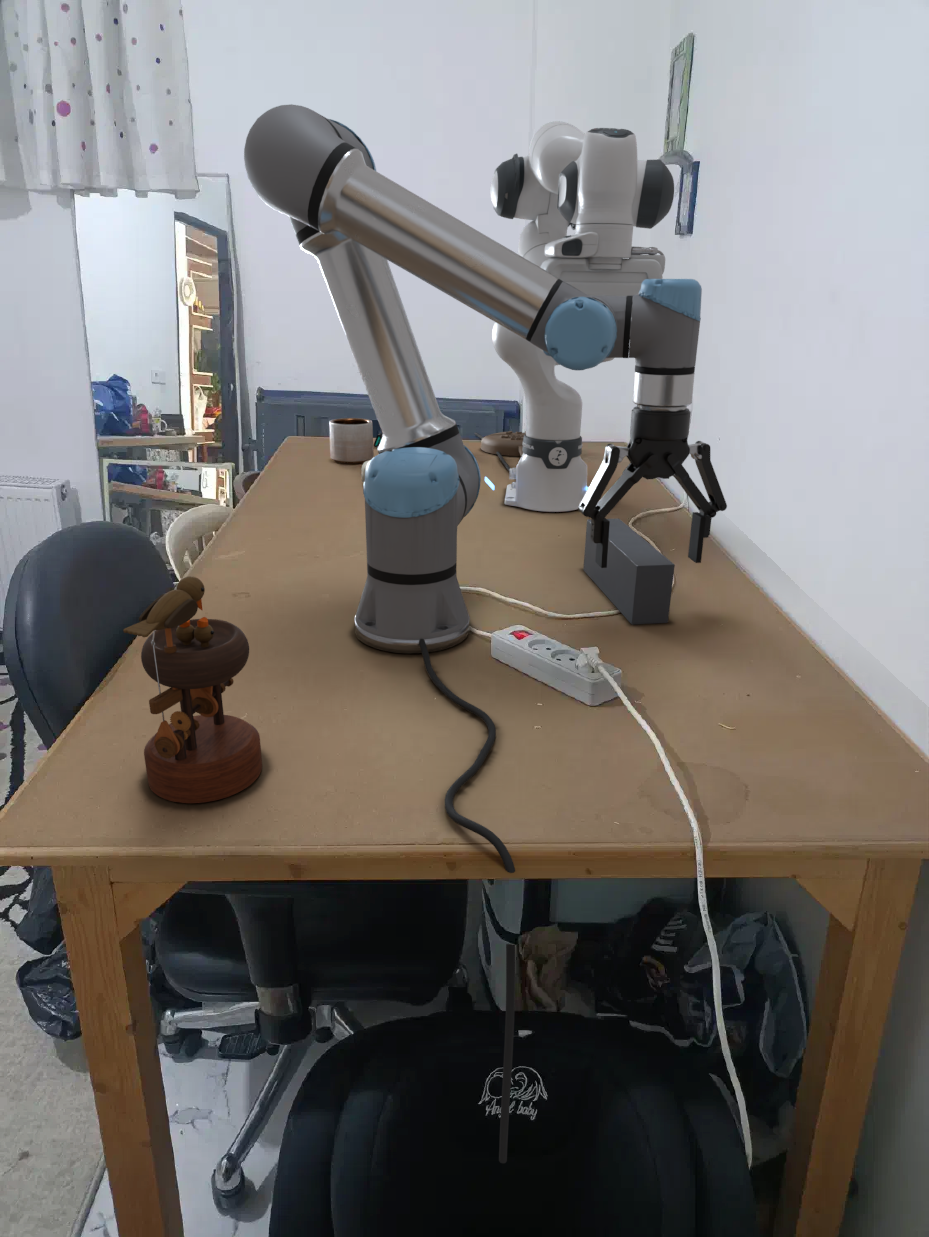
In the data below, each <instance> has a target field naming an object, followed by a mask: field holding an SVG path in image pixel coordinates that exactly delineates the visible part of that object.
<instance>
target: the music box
mask: <svg viewBox="0 0 929 1237" xmlns="http://www.w3.org/2000/svg"><path fill="white" fill-rule="evenodd" d="M205 590H206V589H205V585H204V583H203V581H202V580H201V579H200V578H198V577H196V576H191V575H190V576H184V577H182V578H181V579H180V580H179V581H178V583H177V584H176V589H172V590H169V591H168V592H166V593H162V594H160V595H159V596H157V598H155V599H154V600H153V601H152V602H151V603H150V604H149V605H148V606H147V607H146V608H145V609H144V611H143V612H142V613H140V616H139V617H138V621H139V622H137V623H134V624H132V625H130V626H128V627H125V628H123V630H122V631H123V633H124V634H129V635H134V636H138V637H142V638H146V639H145V641H144V643H143V645H142V648H141V651H140V652H141V653H140V659H141V664H142V667H143V670H144V671H145V673H146V674H147V675H148V676H149V677H150V678H151V679H152V680H153V681H154V682H156V683H157V687H158V694H157V695H155V696H153V697H151V698H150V699H148V705H149V712H150V714H151V715H159V714H161V717H162V721H161V722H160V723H159V725H158V726H159V727H158V729H157V732H156V733H155V734H154V735H152V736H151V737H150V739H149V740H148V741H147V743H146V744H145V746H144V748H143V758H144V764H145V770H146V777H147V784H148V787H149V788H150V790H151V791H152V792H153V793H154V795H157V796H158V797H160V798H161V799H164V800H166V801H167V800H168V801H169V802H174V803H179V804H180V803H181V804H200V803H209V802H215V801H219V800H222V799H226V798H229V797H231V796H234V795H236V794H238V793H241V791H243V790H245V789H247V788H249V787H250V786H251V785H252V784H254V782H256V780H257V779H259V777H260V774H261V773H262V769H263V758H262V748H261V736H260V732H259V731H258V729H257V728H256V727H255V726H254V725H253V724H251V723H250V722H247V721H246V720H244V719H243V718H240V717H237V716H233V715H229V714H224V705H223V696H222V695H223V693H224V692H225V691H226V689H227V688H226V687H232V686H233V684H234V680H233V678H235V677H236V676H238V674H239V673H240V672H242V670H243V669H244V668H245V666H246V664H247V662H248V660H249V657H250V643H249V641H248V638H247V636H246V634H245V632H243V631H242V629H241V628H240V627H238V626H237V625H235V624H234V623H232V622H229V621H227V620H221V619H216V618H214V619H213V618H207V617H206V616H202V617H201V618H193V617H194V616H196V615H197V612H198V610H200V611H203V602H202V599H203V597H204V595H205ZM192 618H193V619H192ZM161 685H162V686H164V687H168V689H165V690H164V691H161ZM178 703H179V706H180V710H176V711H174V712H172V713H171V715H170V717H169V720H170V723H169V722H168V721H167V720H165V712H164V711H167V710H169V709H170V708H171V707H173V706H175V705H176V704H178ZM195 713H196V714H197V715H194V714H195Z"/></svg>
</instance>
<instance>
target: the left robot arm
mask: <svg viewBox="0 0 929 1237" xmlns="http://www.w3.org/2000/svg"><path fill="white" fill-rule="evenodd" d="M243 162H244V169H245V172H246V175H247V179H248V181H249V184H250V185H251V187H252V189H253V191H254V192H255V194H256V195H257V197H258V198H259V199H260V200H261V201H262V202H263V203H264V204H265V205H266V206H268V207H269V208H271V209H272V210H273V211H275V212H277V213H279V214H282V215H285V216H288V218H289V222H290V224H291V227H292V229H293V232H294V234H295V237H296V240H297V243H298V245H299V247H300V250H302V251H304V252H305V253H307V254H310V255H311V256H314V258H315V259H316V260H317V263H318V264H319V268H320V271H321V273H322V276H323V278H324V281H325V283H326V286H327V289H328V292H329V294H330V296H331V300H332V302H333V305H334V307H335V311H336V313H337V316H338V318H339V321H340V324H341V326H342V329H343V332H344V334H345V336H346V340H347V343H348V346H349V348H350V350H351V353H352V356H353V359H354V361H355V363H356V367H357V369H358V372H359V374H360V377H361V380H362V382H363V385H364V388H365V391H366V393H367V396H368V398H369V401H370V403H371V406H372V408H373V412H374V415H375V417H376V420H377V422H378V425H379V427H380V430H381V433H382V434H383V435H382V439H381V442H380V444H379V446H378V447H377V449H376V451H377V453H378V454H376V455H374V457H373V458H372V459H371V460H370V461H369V463H368V464H367V466H366V470H365V481H364V482H363V485H362V486H363V490H362V493H363V494H362V495H363V497H364V515H365V516H364V517H365V518H364V519H365V543H366V544H365V545H366V547H365V548H366V579H365V584H364V586H363V589H362V592H361V596H360V600H359V602H358V606H357V609H356V612H355V615H354V633H355V636H356V638H357V639H358V640H359V641H360V642H362V643H363V644H365V645H367V646H368V647H371V648H374V649H377V650H380V651H384V652H390V653H396V654H397V653H398V654H421V655H422V659H423V662H424V668H425V670H426V672H427V674H428V676H429V678H430V680H431V681H432V683H433V684H434V685H435V686H436V688H438V690H440V692H442V694H444V696H446V697H447V698H448V699H449V700H450V701H451V702H453V703H454V704H456V705H457V706H458V707H461V708H463V709H464V710H466V711H468V712H469V713H471V714H473V715H475V716H477V717H478V718H480V719H481V720H482V721H483V722H484V723H485V725H486V727H487V730H488V735H487V738H486V741H485V743H484V744H483V746H482V748H481V750H480V752H479V753H478V755H477V756H476V759H475V760H474V762H473V763H472V765H471V766H470V767H469V768H468V769H467V770H466V771H465V772H463V773H462V774H461V775H460V776H459V777H457V779H456V780H455V781H454V782H453V783H452V784H451V786H449V788H448V790H446V793H445V797H444V808H445V812H446V815H447V816H448V817H449V818H450V820H452V821H453V822H454V823H456V824H457V825H459V826H461V827H463V828H465V829H467V830H469V831H471V832H473V833H475V834H476V835H479V836H480V837H482V838H483V839H485V840H487V841H488V842H489V843H490V844H491V845H493V847H494V849H495V850H496V851H497V853H498V854H499V856H500V858H501V860H502V863H503V866H504V869H505V871H506V872H507V873H510V874H513V873H515V872H516V868H515V863H514V861H513V858H512V856H511V854H510V852H509V850H508V848H507V846H506V845H505V844H504V843H503V841H502V840H501V839H500V838H499V837H498V835H496V834H495V833H494V832H493V831H492V830H490V829H489V828H488V827H486V826H484V825H482V824H480V823H478V822H476V821H473V820H472V819H470V818H467V817H466V816H465V817H464V816H463V815H462V814H460V813H458V812H457V810H456V809H455V806H454V798H455V796H456V794H457V792H458V791H459V790H460V789H461V788H462V787H463V786H464V785H465V784H466V783H467V782H468V781H469V780H470V779H472V777H473V776H475V775H476V773H478V772H479V770H480V768H481V767H482V765H483V764H484V762H485V761H486V758H487V757H488V754H489V753H490V751H491V749H492V747H493V746H494V744H495V741H496V738H497V730H496V729H497V728H496V725H495V723H494V721H493V719H492V718H491V716H490V715H489V714H488V713H486V712H485V711H484V710H482V709H481V708H479V707H477V706H475V705H474V704H472V703H470V702H468V701H466V700H464V699H462V698H461V697H459V696H457V695H456V694H455V693H454V692H453V691H451V690H450V689H449V687H447V686H446V685H445V684H444V683H443V681H442V680H440V678H439V677H438V675H437V674H436V672H435V670H434V668H433V666H432V662H431V657H430V653H433V652H439V651H443V650H446V649H449V648H452V647H455V646H457V645H458V644H460V643H462V642H463V641H464V640H466V639H467V637H468V636H469V634H470V615H469V612H468V608H467V606H466V601H465V599H464V596H463V593H462V589H461V586H460V583H459V581H458V577H457V561H458V560H457V559H458V558H457V557H458V556H457V554H458V552H457V551H458V526H459V525H460V524H461V522H462V521H463V520H464V518H465V517H466V516H467V515H468V514H469V513H470V512H471V511H472V509H473V508H474V506H475V504H476V502H477V500H478V498H479V493H480V490H481V480H482V479H481V478H482V476H481V470H480V467H479V463H478V461H477V458H476V457H475V455H474V454H473V452H472V451H471V450H470V449H469V448H468V447H467V446H466V445H464V441H463V438H462V436H461V433H460V431H459V427H458V425H457V422H456V420H455V419H452V418H450V416H449V417H448V416H446V415H444V414H443V413H442V412H441V409H440V406H439V402H438V400H437V398H436V395H435V392H434V389H433V386H432V383H431V381H430V378H429V374H428V372H427V369H426V365H425V363H424V360H423V358H422V354H421V352H420V349H419V346H418V344H417V341H416V338H415V334H414V332H413V329H412V326H411V323H410V320H409V318H408V315H407V311H406V309H405V307H404V303H403V301H402V297H401V296H400V295H401V294H400V293H399V289H398V286H397V283H396V280H395V278H394V274H393V271H392V268H391V266H390V263H392V264H394V265H395V266H397V267H399V268H401V269H402V270H404V271H406V272H408V273H409V274H411V275H413V276H415V277H416V278H418V279H420V280H421V281H423V282H425V283H427V284H428V285H430V286H432V287H433V288H435V289H437V290H438V291H440V292H442V293H443V294H446V295H448V296H449V297H451V298H453V299H454V300H456V301H457V302H459V303H462V304H463V305H464V306H467V307H468V308H470V309H472V310H474V311H475V312H477V313H479V314H480V315H482V316H484V317H486V318H488V319H489V320H491V321H493V322H494V323H495V322H496V323H498V324H500V325H501V326H503V327H505V328H507V329H508V330H510V331H512V332H514V333H515V334H517V335H519V336H521V337H522V338H524V339H526V340H527V341H529V342H531V343H532V344H533V345H535V346H537V347H538V348H540V349H542V350H543V352H544V353H545V354H546V355H547V356H551V357H552V358H553V359H554V360H555V361H556V362H557V363H558V364H560V365H559V366H562V367H563V368H566V369H568V370H570V371H571V370H572V371H584V370H590V369H592V368H595V367H597V366H598V365H600V364H602V363H604V362H603V361H604V359H605V358H614V359H615V358H616V359H634V360H635V362H634V363H635V365H634V376H633V390H632V402H633V403H634V405H635V406H634V407H633V409H631V414H630V430H629V442H628V444H627V446H622V445H621V446H619V445H614V444H613V443H608V444H606V446H605V447H604V455H603V458H602V459H603V460H602V461H601V464H600V465H599V467H598V469H597V471H596V473H595V475H594V477H593V479H592V481H591V482H590V484H589V485H588V490H587V492H586V494H585V495H584V497H583V499H582V501H581V503H580V505H579V507H578V509H577V510H578V512H579V513H580V514H582V515H583V516H584V517H585V518H589V519H591V534H590V537H591V540H592V541H593V542H594V543H597V544H596V560H595V562H596V563H597V564H598V565H599V566H600V567H601V568H607V555H608V540H609V525H610V521H608V520H607V519H608V518H606V517H607V516H608V515H609V514H610V513H611V512H612V511H613V509H614V508H615V507H616V506H617V504H619V502H621V500H622V499H623V498H624V497H625V496H626V494H627V493H628V492H629V491H630V490H631V488H632V487H634V486H635V485H636V484H638V483H639V482H640V481H641V479H642V478H643V479H646V480H654V479H659V478H660V479H663V480H665V479H666V480H667V479H670V478H671V477H673V478H674V479H675V480H676V482H677V483H678V484H679V486H680V487H681V488H682V490H683V491H684V492H685V493H686V495H687V496H688V498H689V499H690V500H691V502H692V503H693V504H694V506H695V507H696V509H697V510H698V511H699V512H698V511H696V512H695V511H694V512H692V515H691V525H690V532H689V533H690V534H689V542H688V543H689V545H688V552H687V558H688V559H690V560H691V561H693V562H694V563H695V564H701V563H702V556H703V548H704V539H708V538H709V536H710V535H711V527H712V519H713V518H715V517H716V515H717V513H718V512H723V511H726V510H727V508H728V504H727V502H726V499H725V496H724V493H723V491H722V488H721V485H720V483H719V480H718V477H717V475H716V471H715V469H714V466H713V464H712V461H711V445H710V444H709V443H706V442H704V441H701V440H697V441H696V442H694V443H691V444H689V443H688V438H689V435H690V434H689V433H690V424H691V412H692V411H690V409H689V408H688V407H689V406H691V404H693V394H694V383H695V375H696V374H695V370H696V364H697V363H696V362H697V354H698V345H699V337H700V336H699V335H700V326H701V318H702V317H701V313H702V312H701V310H702V294H703V289H702V285H701V283H700V282H699V281H698V280H696V279H694V278H663V279H645V280H644V281H643V282H642V284H641V289H640V291H639V295H633V296H603V295H587V294H585V293H584V292H582V291H580V290H578V289H577V288H575V287H573V286H572V285H570V284H568V283H566V282H564V281H562V280H560V279H559V278H558V277H556V276H554V275H552V274H551V273H549V272H547V271H546V270H544V269H542V268H540V267H539V266H537V265H535V264H534V263H532V262H530V261H528V260H527V259H525V258H523V257H522V256H520V255H518V252H516V251H515V252H514V251H513V250H512V249H510V248H508V247H506V246H505V245H503V244H501V243H499V242H498V241H496V240H494V239H493V238H491V237H489V236H488V235H486V234H484V233H482V232H481V231H479V230H477V229H475V228H474V227H472V226H470V225H469V224H468V223H466V222H463V221H462V220H461V219H459V218H456V216H454V215H452V214H450V213H448V212H446V211H445V210H443V209H442V208H440V207H438V206H436V205H435V204H433V203H431V202H430V201H428V200H426V199H424V198H422V196H419V195H417V194H416V193H414V192H413V191H411V190H409V189H407V188H406V187H404V186H402V185H400V184H399V183H397V182H395V181H394V180H392V179H390V178H388V177H386V176H385V175H383V174H382V173H380V172H378V171H377V167H376V163H375V160H374V158H373V155H372V153H371V151H370V149H369V148H368V146H367V145H366V144H365V142H364V141H363V140H362V138H361V137H360V136H358V135H357V133H356V132H355V131H354V130H353V129H351V128H350V127H348V126H347V125H345V124H343V123H342V122H340V121H337V120H334V119H331V118H327V117H325V116H324V115H322V114H320V113H319V112H316V111H315V110H313V109H311V108H309V107H306V106H303V105H299V104H292V103H291V104H281V105H277V106H274V107H272V108H270V109H268V110H266V111H265V112H263V113H261V115H260V116H259V117H257V118H256V120H255V121H254V122H253V124H252V126H251V127H250V128H249V131H248V133H247V136H246V138H245V143H244V148H243ZM389 262H390V263H389ZM632 299H633V302H632ZM631 314H632V318H631ZM630 329H631V332H630ZM689 455H690V457H691V459H693V460H694V463H695V466H696V468H697V471H698V474H699V475H700V478H701V482H702V484H703V486H704V490H705V492H706V494H707V497H708V499H707V498H706V497H705V496H704V494H703V493H702V491H701V490H700V489H699V487H698V486H697V485H696V483H695V482H694V480H693V479H692V478H691V476H690V474H689V472H688V471H687V470H686V468H685V467H684V465H683V463H684V462H685V461H686V460H687V458H688V457H689ZM625 457H626V458H627V460H628V461H629V463H628V465H627V466H626V467H625V468H624V469H623V471H622V473H621V475H620V476H619V478H618V479H616V481H615V482H614V483H613V484H612V485H611V486H610V488H609V489H608V490H607V491H606V492H605V490H606V488H607V487H608V485H609V483H610V481H611V479H612V477H613V476H614V473H615V472H616V470H617V468H618V465H619V464H620V463H622V462H623V460H624V458H625ZM604 492H605V494H604ZM603 494H604V495H603ZM708 500H709V501H708ZM505 953H506V954H505V960H506V961H505V1022H504V1046H503V1065H502V1086H501V1101H500V1102H501V1103H500V1118H499V1119H500V1120H499V1122H500V1123H499V1124H500V1125H499V1142H498V1144H499V1146H498V1162H499V1163H500V1164H506V1163H507V1162H508V1142H509V1124H510V1123H509V1122H510V1102H511V1086H512V1072H513V1057H514V1056H513V1055H514V1037H515V1034H514V1033H515V1009H516V1008H515V1007H516V1006H515V1004H516V944H511V943H506V944H505Z"/></svg>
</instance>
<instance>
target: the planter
mask: <svg viewBox="0 0 929 1237" xmlns="http://www.w3.org/2000/svg"><path fill="white" fill-rule="evenodd" d="M328 424H329V425H328V426H329V453H330V454H329V455H330V456H329V457H330V459H331V460H332V461H333V462H335V463H341V464H363V463H364V462H366V461H369V460H371V459H372V458H374V457H375V455H374V452H375V451H374V450H375V449H374V430H373V429H374V428H373V420H371V419H369V418H362V417H361V418H360V417H342V418H341V417H340V418H335V419H334V418H333V419H331V420H329V421H328Z"/></svg>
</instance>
